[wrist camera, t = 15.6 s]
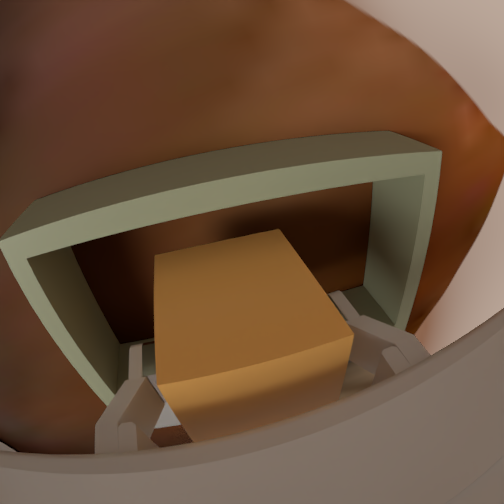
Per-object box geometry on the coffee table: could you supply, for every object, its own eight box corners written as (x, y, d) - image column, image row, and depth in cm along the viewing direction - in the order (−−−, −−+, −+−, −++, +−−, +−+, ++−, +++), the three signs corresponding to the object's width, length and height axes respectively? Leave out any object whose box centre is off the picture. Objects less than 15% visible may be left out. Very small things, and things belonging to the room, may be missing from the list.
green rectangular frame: (112, 356, 17) (108, 407, 14) (34, 200, 11) (-3, 241, 8) (373, 292, 20) (404, 331, 17) (389, 130, 14) (442, 150, 11)
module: (183, 341, 14) (202, 455, 9) (154, 255, 11) (156, 385, 6) (282, 318, 15) (332, 419, 10) (279, 228, 12) (354, 334, 7)
